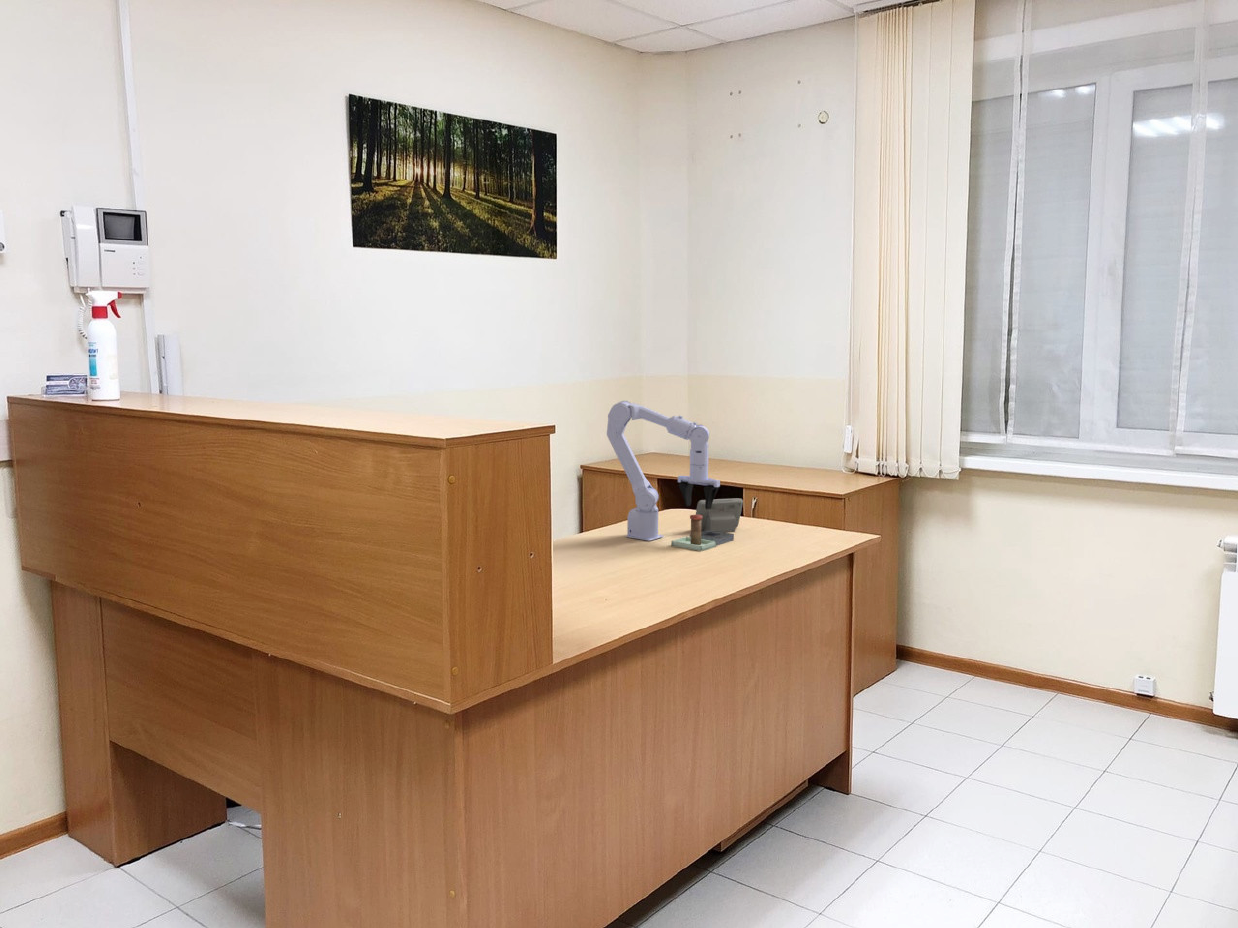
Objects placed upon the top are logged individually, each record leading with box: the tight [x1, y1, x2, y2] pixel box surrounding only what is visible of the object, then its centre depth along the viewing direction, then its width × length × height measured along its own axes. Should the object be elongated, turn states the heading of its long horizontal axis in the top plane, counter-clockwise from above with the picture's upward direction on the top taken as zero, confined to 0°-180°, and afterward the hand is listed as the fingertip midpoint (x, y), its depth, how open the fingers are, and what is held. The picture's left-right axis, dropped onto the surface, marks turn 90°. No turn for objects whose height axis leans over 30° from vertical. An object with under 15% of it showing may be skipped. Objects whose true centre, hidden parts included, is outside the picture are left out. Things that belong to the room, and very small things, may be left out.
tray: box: [671, 536, 717, 552], centre depth 303 cm, size 11×8×2 cm
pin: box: [689, 514, 702, 545], centre depth 303 cm, size 4×4×9 cm
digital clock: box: [695, 497, 744, 533], centre depth 325 cm, size 16×9×11 cm, turn 97°
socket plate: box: [689, 530, 735, 547], centre depth 310 cm, size 10×10×2 cm
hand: (698, 507), depth 310 cm, fingers open, 7 cm apart
